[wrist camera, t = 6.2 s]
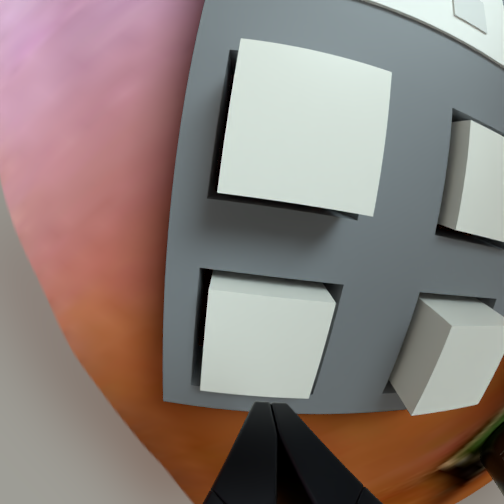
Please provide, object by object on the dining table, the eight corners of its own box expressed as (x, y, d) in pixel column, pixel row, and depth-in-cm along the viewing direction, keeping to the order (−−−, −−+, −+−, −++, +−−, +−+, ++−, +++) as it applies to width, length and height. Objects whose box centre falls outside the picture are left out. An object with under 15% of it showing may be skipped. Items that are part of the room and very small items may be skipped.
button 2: (314, 270, 13) (336, 303, 10) (295, 353, 14) (308, 398, 11) (215, 258, 13) (208, 289, 10) (207, 344, 14) (199, 390, 11)
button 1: (352, 94, 10) (391, 72, 7) (337, 201, 11) (373, 216, 8) (240, 72, 10) (240, 38, 7) (223, 184, 11) (217, 192, 8)
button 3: (486, 150, 12) (531, 153, 9) (474, 229, 13) (517, 245, 10) (425, 125, 11) (470, 119, 8) (412, 214, 12) (455, 230, 9)
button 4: (474, 296, 12) (515, 325, 9) (446, 368, 13) (478, 404, 10) (410, 291, 12) (451, 325, 9) (383, 371, 13) (411, 415, 10)
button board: (485, -30, 9) (514, -46, 6) (440, 371, 16) (467, 404, 12) (250, -111, 8) (253, -147, 5) (174, 360, 14) (162, 405, 11)
